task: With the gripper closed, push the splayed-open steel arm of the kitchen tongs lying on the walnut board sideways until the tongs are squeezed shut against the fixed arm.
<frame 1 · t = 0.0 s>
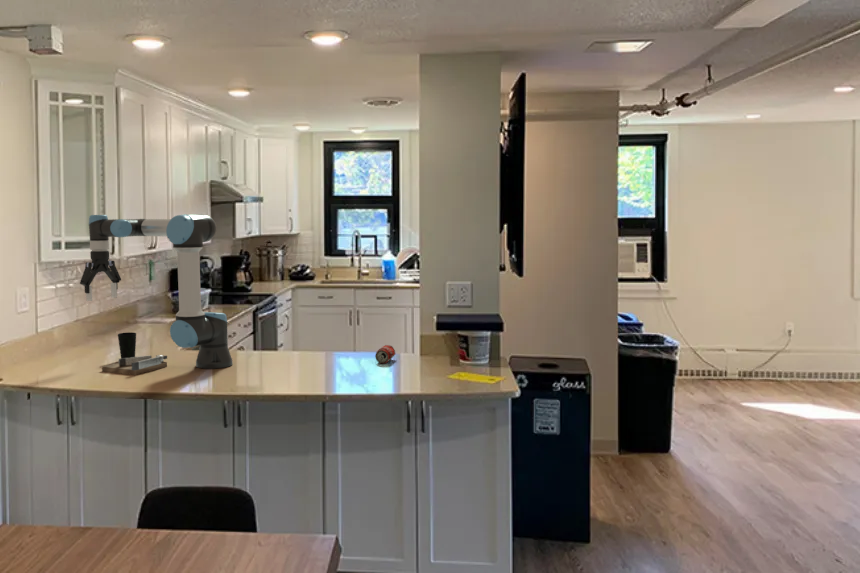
hand: (101, 299, 330), 28 cm above the countertop, fingers open, 13 cm apart
cup: (128, 360, 337), on the countertop
board: (135, 369, 318), on the countertop
tongs fixed: (159, 362, 321), resting on board
tong arm: (135, 360, 317), point 4 cm above the countertop, hinge at -30.0°
beverage can: (385, 362, 332), on the countertop
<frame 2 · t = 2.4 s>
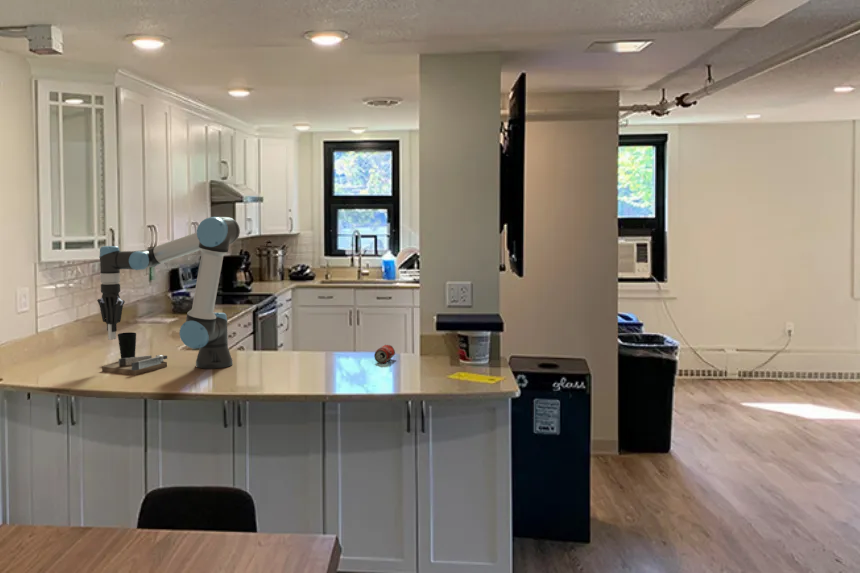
hand: (112, 339, 316), 13 cm above the countertop, fingers closed
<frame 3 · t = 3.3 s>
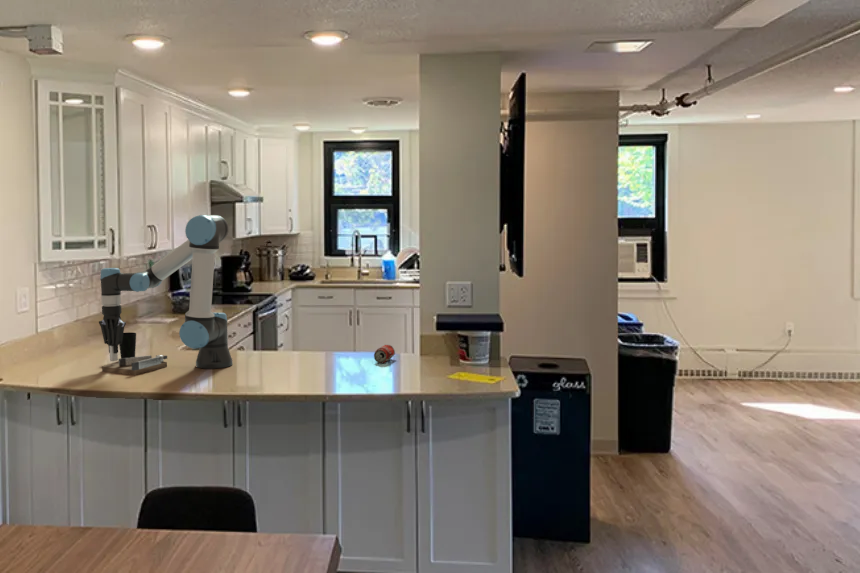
hand: (113, 360, 317), 4 cm above the countertop, fingers closed
nothing on the countertop moved.
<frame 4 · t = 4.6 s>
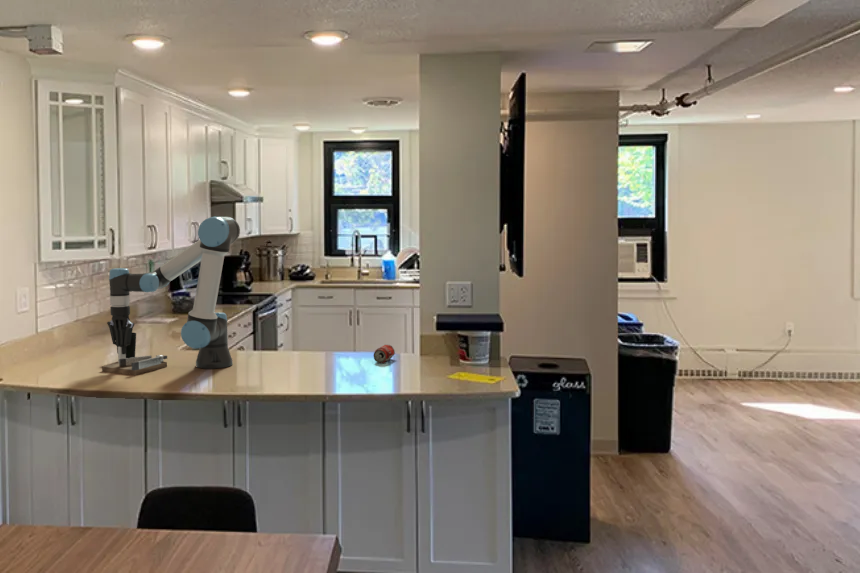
hand: (122, 361, 315), 4 cm above the countertop, fingers closed
tong arm: (135, 360, 317), point 4 cm above the countertop, hinge at -28.0°, touching gripper
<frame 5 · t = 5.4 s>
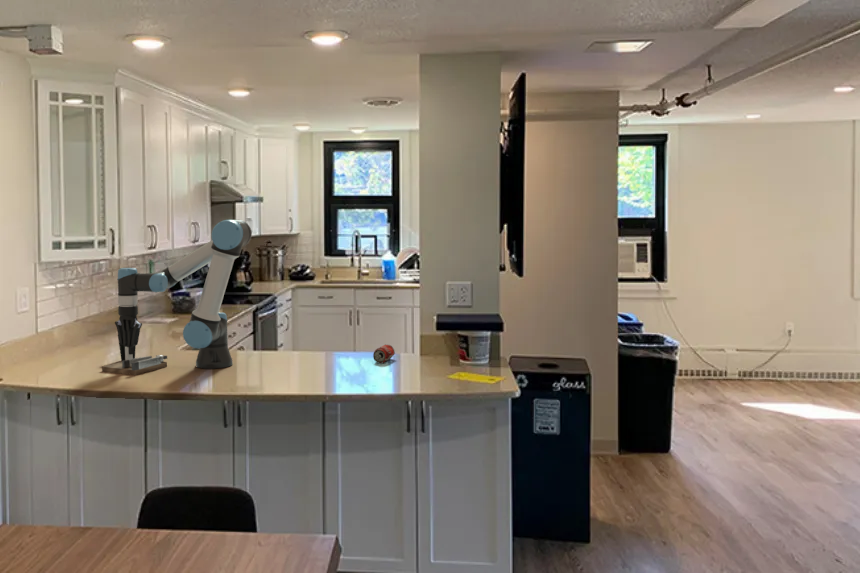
hand: (129, 361, 313), 4 cm above the countertop, fingers closed
tong arm: (137, 361, 314), point 4 cm above the countertop, hinge at -11.8°, touching gripper
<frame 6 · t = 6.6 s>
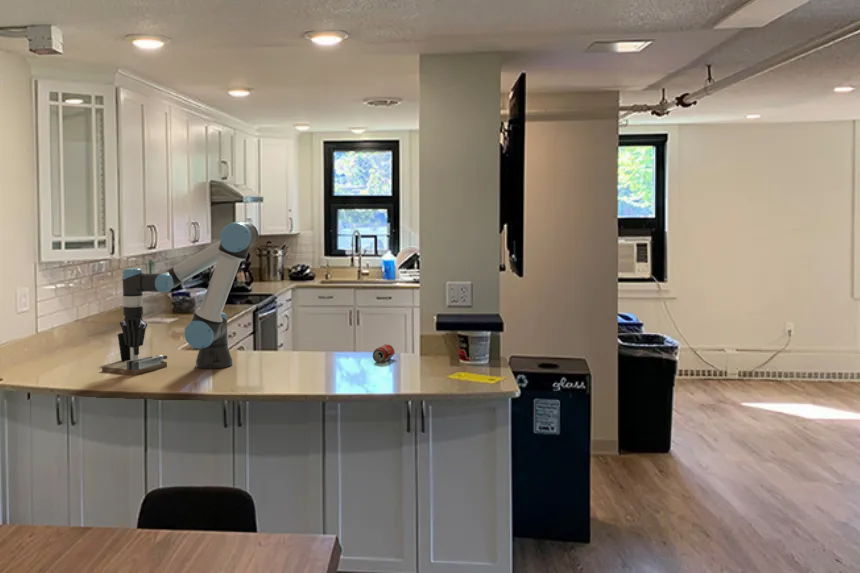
hand: (134, 362, 312), 4 cm above the countertop, fingers closed
tong arm: (139, 362, 313), point 4 cm above the countertop, hinge at -0.2°, touching gripper
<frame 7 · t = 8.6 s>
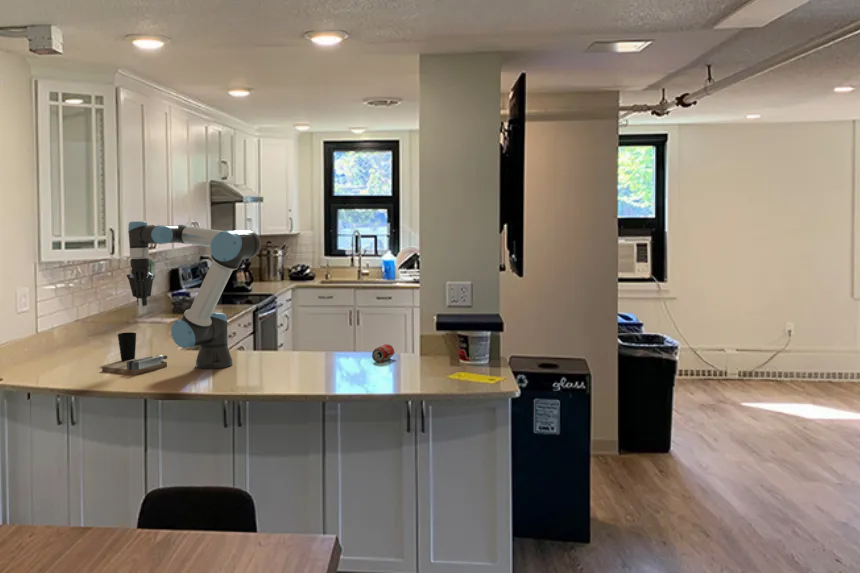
hand: (142, 313, 321), 23 cm above the countertop, fingers closed
tong arm: (139, 362, 313), point 4 cm above the countertop, hinge at -0.2°
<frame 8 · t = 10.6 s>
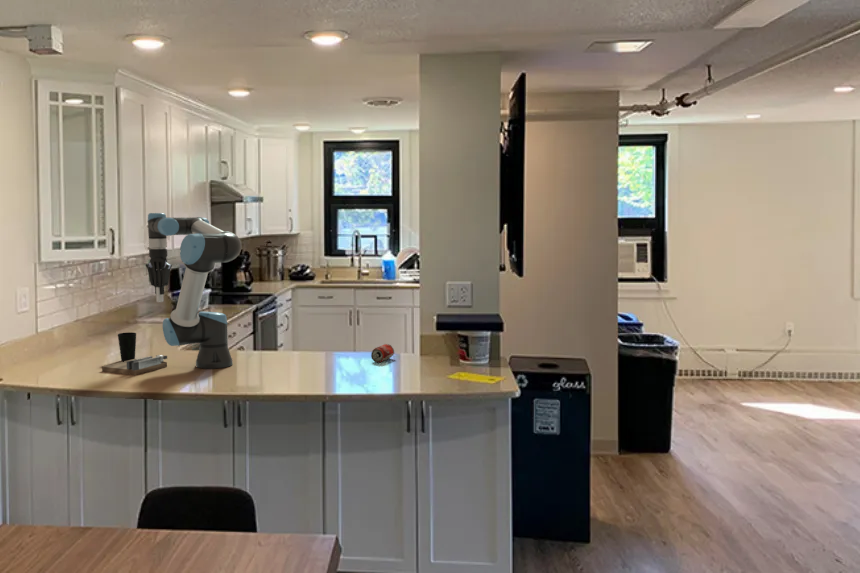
hand: (160, 301, 333), 26 cm above the countertop, fingers closed
at the end: tong arm at +0° (first picture: -30°) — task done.
